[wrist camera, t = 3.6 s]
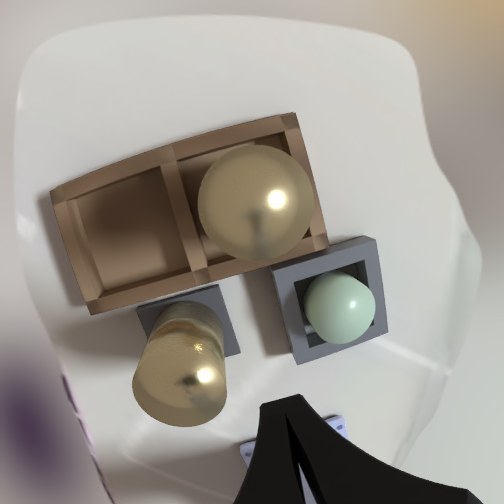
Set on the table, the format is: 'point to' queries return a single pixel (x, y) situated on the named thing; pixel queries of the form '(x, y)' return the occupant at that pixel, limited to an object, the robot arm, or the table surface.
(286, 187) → the brass round-topped piece
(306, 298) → the button
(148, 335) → the mat
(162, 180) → the brown wooden tray
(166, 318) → the cylinder
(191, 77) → the table surface
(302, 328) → the button housing
